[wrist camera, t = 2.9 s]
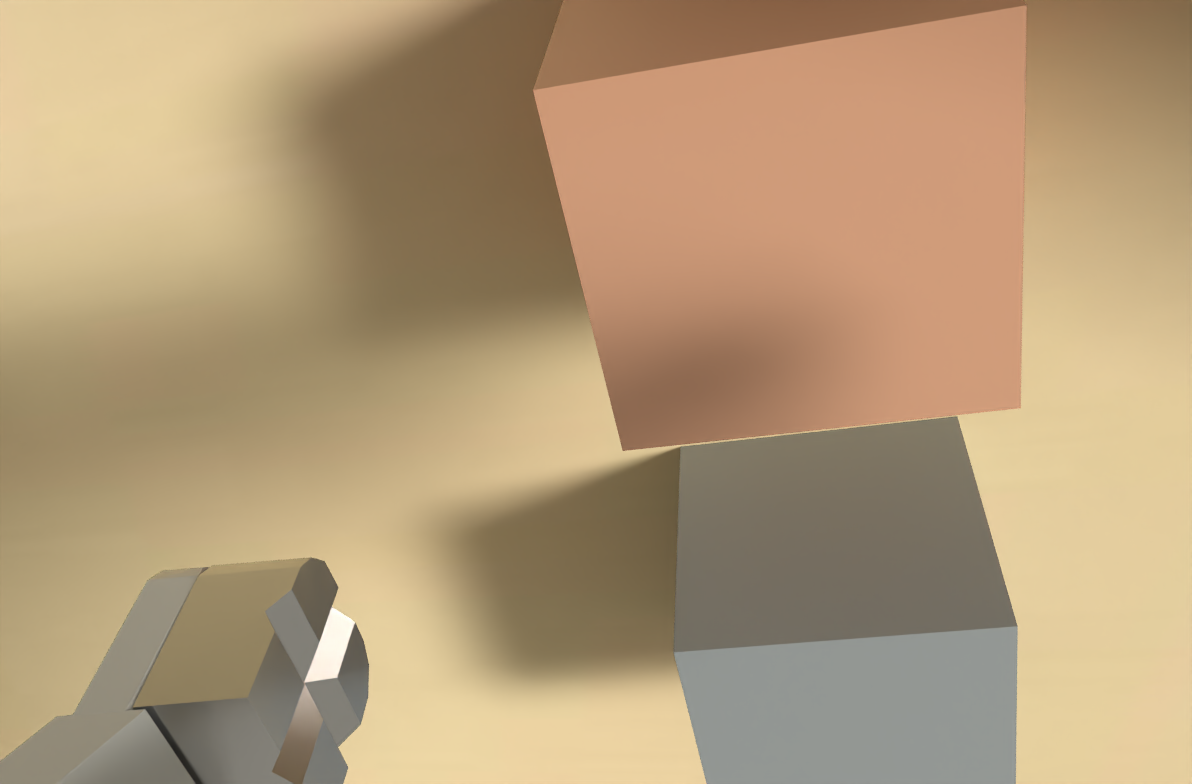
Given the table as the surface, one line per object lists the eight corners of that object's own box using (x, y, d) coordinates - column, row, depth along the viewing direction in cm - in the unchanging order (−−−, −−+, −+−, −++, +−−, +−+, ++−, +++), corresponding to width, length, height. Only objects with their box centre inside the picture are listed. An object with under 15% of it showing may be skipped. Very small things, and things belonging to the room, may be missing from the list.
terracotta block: (943, -116, 15) (1027, 4, 11) (951, 216, 18) (1020, 407, 14) (578, -45, 16) (532, 90, 12) (642, 259, 19) (622, 451, 15)
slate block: (956, 413, 20) (1017, 626, 16) (961, 604, 23) (1015, 825, 19) (680, 444, 21) (673, 652, 17) (719, 624, 24) (721, 838, 20)
